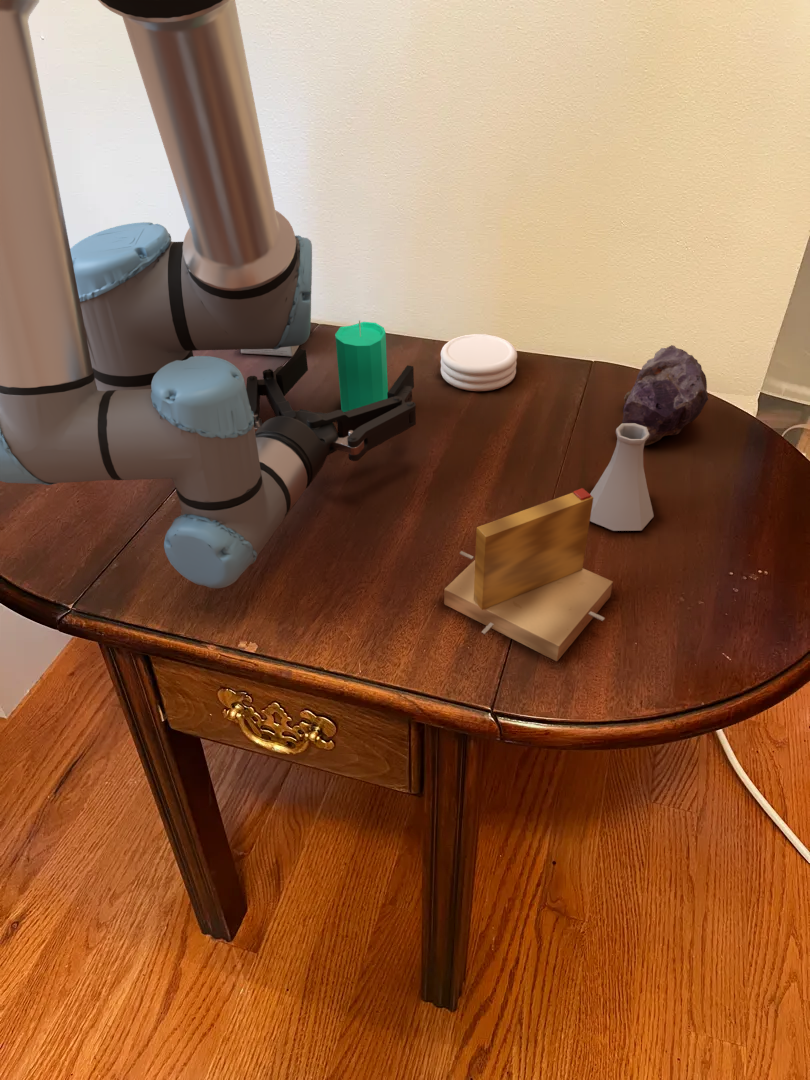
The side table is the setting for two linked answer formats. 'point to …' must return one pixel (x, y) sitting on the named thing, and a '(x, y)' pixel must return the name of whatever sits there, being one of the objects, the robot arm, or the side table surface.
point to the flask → (624, 484)
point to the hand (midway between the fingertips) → (356, 367)
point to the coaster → (478, 362)
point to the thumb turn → (531, 548)
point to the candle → (361, 364)
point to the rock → (666, 394)
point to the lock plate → (536, 609)
